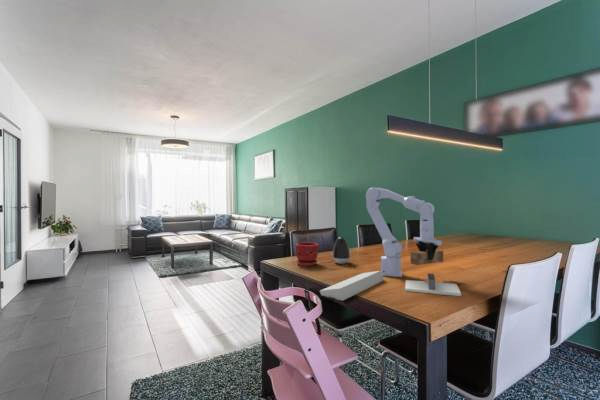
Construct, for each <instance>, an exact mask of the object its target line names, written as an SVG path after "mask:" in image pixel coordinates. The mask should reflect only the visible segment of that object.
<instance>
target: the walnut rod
mask: <svg viewBox="0 0 600 400" xmlns="http://www.w3.org/2000/svg"><path fill="white" fill-rule="evenodd" d="M437 263H444V250H441V249H436V251H435V254H434V257H433V260H428V252H427V251H413V252H410V264H411V265H415V266H422V265H429V264H437Z"/></svg>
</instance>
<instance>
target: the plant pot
mask: <svg viewBox="0 0 600 400" xmlns="http://www.w3.org/2000/svg"><path fill="white" fill-rule="evenodd" d="M318 253H319V244H318V243H316V242H298V243H295V255H296V258H297V261H296V263H297V264H298V265H299V266H302V267H307V266H308V267H309V266H310V267H311V266H315V265H316V264H317V263H318V261H317V258H318V255H319V254H318Z"/></svg>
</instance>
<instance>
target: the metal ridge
mask: <svg viewBox="0 0 600 400" xmlns="http://www.w3.org/2000/svg"><path fill="white" fill-rule="evenodd" d="M427 282H428V288H429V290H435V282H436V277H435V273H429V272H428V273H427Z"/></svg>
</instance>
